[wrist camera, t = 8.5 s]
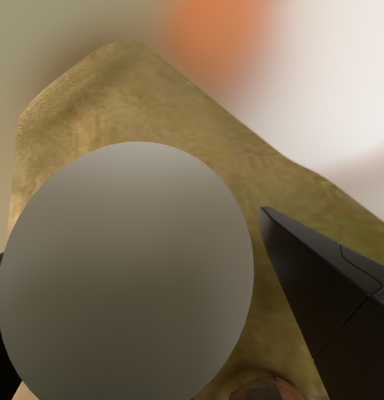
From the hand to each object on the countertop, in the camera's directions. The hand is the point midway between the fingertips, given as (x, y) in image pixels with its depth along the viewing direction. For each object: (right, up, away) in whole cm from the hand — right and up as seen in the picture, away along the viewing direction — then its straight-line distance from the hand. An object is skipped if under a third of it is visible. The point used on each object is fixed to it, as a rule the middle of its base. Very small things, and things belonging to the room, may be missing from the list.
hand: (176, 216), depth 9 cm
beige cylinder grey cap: (+1, -4, +7) cm, 8 cm away
